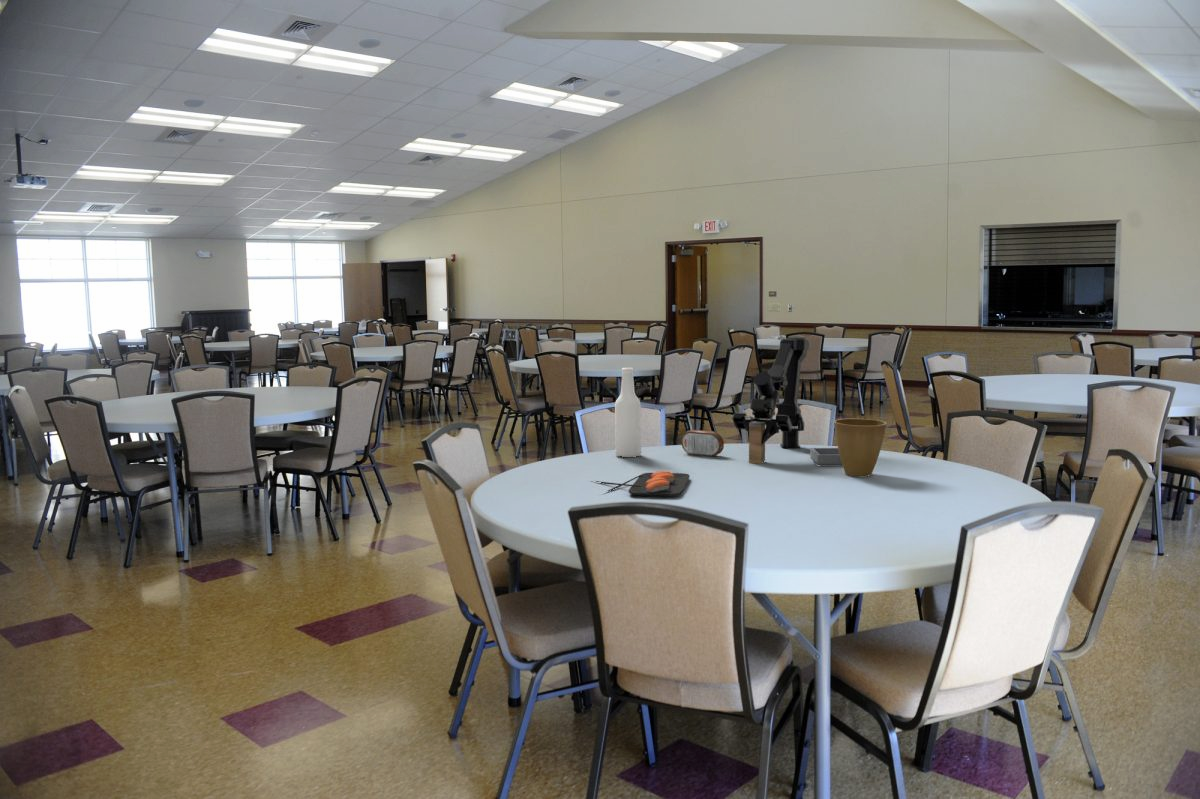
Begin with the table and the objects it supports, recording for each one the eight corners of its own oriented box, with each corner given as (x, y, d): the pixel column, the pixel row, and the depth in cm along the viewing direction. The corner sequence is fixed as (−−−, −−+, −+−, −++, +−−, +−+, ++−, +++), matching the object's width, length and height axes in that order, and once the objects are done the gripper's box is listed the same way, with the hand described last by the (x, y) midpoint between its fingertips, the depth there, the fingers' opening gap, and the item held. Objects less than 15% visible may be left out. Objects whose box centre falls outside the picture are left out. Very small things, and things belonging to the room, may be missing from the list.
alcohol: (629, 452, 318) (628, 366, 314) (646, 455, 311) (645, 367, 308) (610, 455, 312) (609, 368, 309) (627, 458, 305) (626, 369, 302)
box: (810, 458, 302) (810, 447, 301) (852, 458, 301) (852, 447, 300) (817, 465, 288) (817, 455, 288) (861, 465, 287) (861, 454, 287)
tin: (724, 456, 308) (724, 431, 307) (720, 457, 306) (720, 432, 305) (684, 452, 316) (684, 428, 315) (680, 454, 314) (679, 429, 313)
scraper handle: (753, 460, 299) (753, 421, 297) (764, 461, 297) (765, 422, 295) (748, 462, 295) (749, 422, 294) (760, 463, 293) (761, 423, 292)
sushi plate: (679, 501, 244) (679, 487, 243) (570, 497, 250) (570, 484, 249) (691, 479, 272) (691, 467, 271) (592, 477, 278) (592, 464, 277)
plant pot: (833, 478, 268) (834, 424, 266) (833, 469, 282) (833, 417, 281) (886, 480, 264) (887, 425, 263) (883, 470, 279) (884, 418, 277)
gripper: (734, 388, 301) (721, 425, 293) (789, 390, 292) (778, 429, 284) (742, 409, 309) (730, 446, 301) (796, 412, 300) (785, 450, 292)
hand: (755, 442), depth 294 cm, fingers closed on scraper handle, 4 cm apart
